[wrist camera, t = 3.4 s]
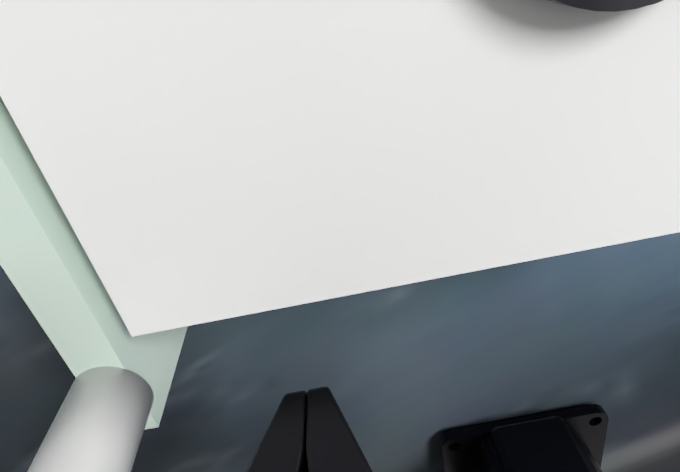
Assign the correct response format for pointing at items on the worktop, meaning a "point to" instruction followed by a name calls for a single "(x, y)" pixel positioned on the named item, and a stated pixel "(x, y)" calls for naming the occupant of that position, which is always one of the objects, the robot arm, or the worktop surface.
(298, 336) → the worktop surface
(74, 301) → the side door
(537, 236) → the instrument case
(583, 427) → the robot arm
